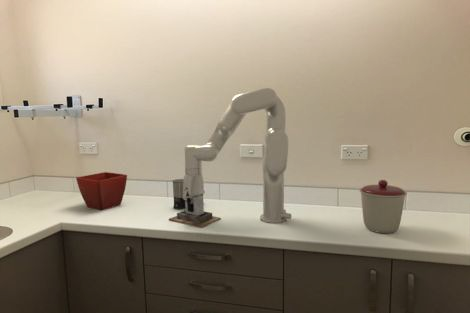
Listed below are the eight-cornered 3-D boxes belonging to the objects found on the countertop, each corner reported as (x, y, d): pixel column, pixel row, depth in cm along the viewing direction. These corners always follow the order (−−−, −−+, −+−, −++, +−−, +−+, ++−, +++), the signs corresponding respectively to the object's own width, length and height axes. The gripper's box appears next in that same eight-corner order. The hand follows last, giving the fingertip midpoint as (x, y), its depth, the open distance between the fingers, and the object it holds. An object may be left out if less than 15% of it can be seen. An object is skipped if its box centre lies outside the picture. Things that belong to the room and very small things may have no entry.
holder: (220, 219, 159) (220, 212, 158) (201, 227, 147) (201, 220, 147) (188, 213, 170) (188, 206, 169) (168, 220, 158) (168, 213, 158)
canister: (410, 228, 143) (413, 179, 141) (397, 240, 130) (399, 186, 127) (367, 219, 155) (369, 174, 152) (351, 230, 142) (352, 180, 139)
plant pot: (100, 213, 172) (98, 180, 170) (77, 208, 182) (75, 177, 180) (129, 204, 188) (128, 174, 186) (107, 200, 198) (105, 172, 196)
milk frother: (170, 209, 178) (169, 181, 176) (182, 201, 193) (181, 176, 191) (195, 210, 174) (194, 182, 172) (205, 203, 189) (205, 176, 187)
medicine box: (204, 213, 158) (203, 195, 157) (197, 216, 154) (197, 197, 153) (191, 211, 162) (191, 193, 161) (185, 213, 159) (184, 195, 158)
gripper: (198, 168, 165) (199, 204, 167) (174, 173, 151) (175, 213, 153) (211, 169, 161) (211, 207, 163) (187, 175, 147) (188, 215, 149)
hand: (194, 209), depth 158 cm, fingers closed on medicine box, 4 cm apart
